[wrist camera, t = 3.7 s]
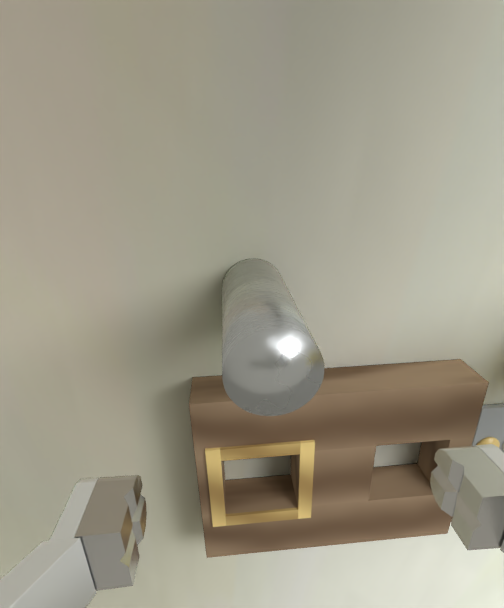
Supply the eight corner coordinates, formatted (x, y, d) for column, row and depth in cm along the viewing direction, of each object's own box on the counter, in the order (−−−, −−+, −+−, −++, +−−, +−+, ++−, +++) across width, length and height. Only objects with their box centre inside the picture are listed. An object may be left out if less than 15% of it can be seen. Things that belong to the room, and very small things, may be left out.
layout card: (479, 405, 28) (483, 409, 28) (538, 401, 28) (543, 405, 28) (459, 478, 31) (463, 483, 31) (512, 473, 31) (517, 479, 31)
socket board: (192, 377, 25) (188, 406, 22) (460, 359, 26) (490, 384, 23) (208, 521, 31) (206, 560, 28) (427, 501, 32) (448, 535, 29)
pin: (220, 260, 22) (219, 331, 13) (283, 257, 22) (327, 325, 13) (223, 318, 23) (225, 419, 14) (282, 314, 24) (321, 412, 14)
